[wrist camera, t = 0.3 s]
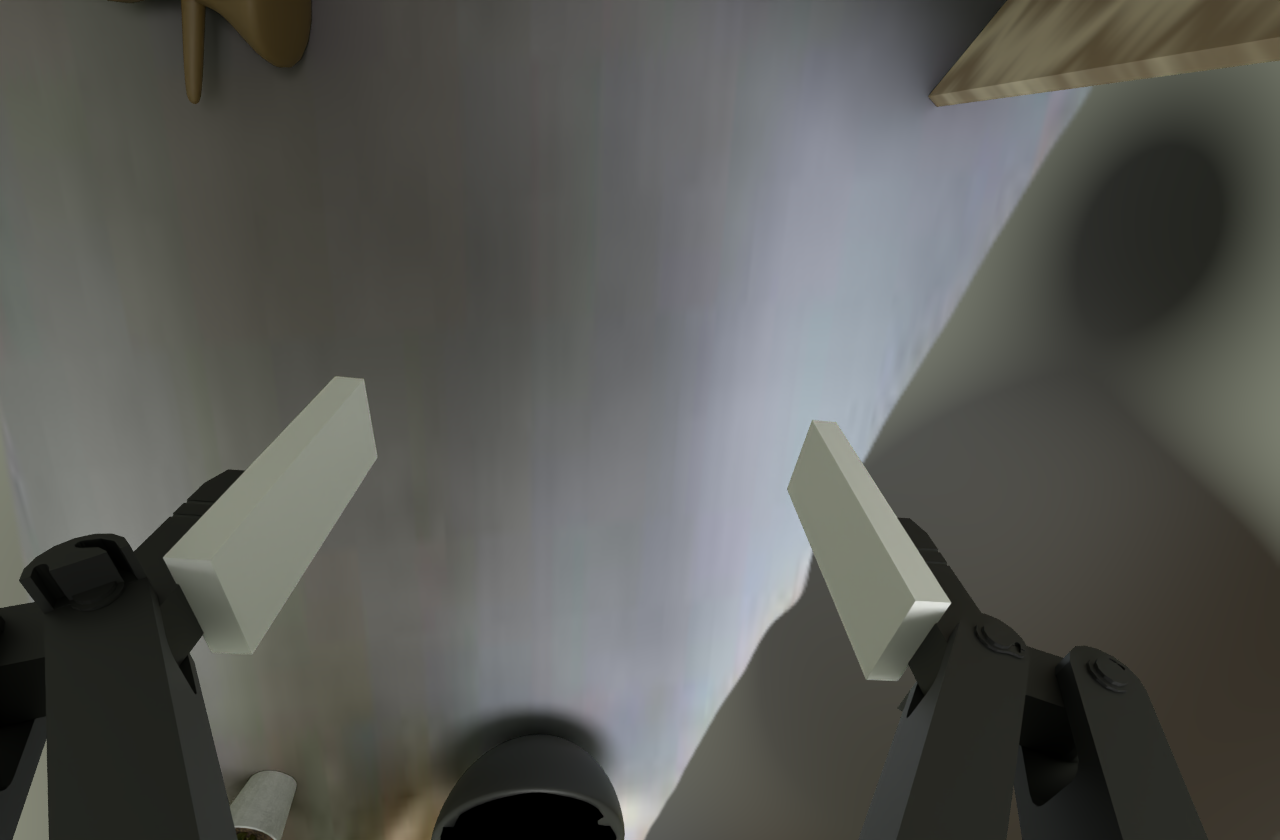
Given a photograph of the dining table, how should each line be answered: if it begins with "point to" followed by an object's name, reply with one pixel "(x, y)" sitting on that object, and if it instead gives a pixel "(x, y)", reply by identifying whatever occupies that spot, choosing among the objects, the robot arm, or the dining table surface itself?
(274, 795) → the house plant
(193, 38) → the kendama
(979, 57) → the plywood stool
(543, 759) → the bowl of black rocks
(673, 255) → the dining table surface
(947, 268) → the dining table surface
